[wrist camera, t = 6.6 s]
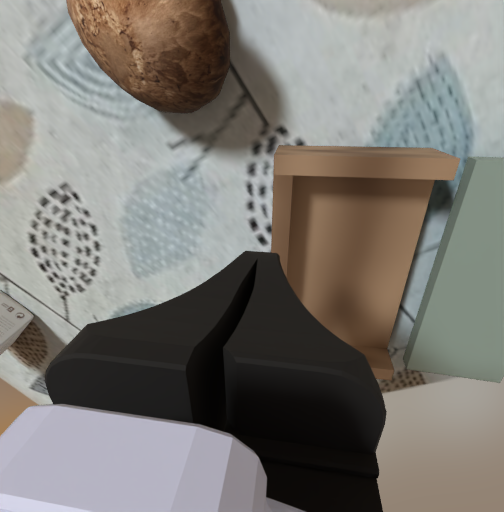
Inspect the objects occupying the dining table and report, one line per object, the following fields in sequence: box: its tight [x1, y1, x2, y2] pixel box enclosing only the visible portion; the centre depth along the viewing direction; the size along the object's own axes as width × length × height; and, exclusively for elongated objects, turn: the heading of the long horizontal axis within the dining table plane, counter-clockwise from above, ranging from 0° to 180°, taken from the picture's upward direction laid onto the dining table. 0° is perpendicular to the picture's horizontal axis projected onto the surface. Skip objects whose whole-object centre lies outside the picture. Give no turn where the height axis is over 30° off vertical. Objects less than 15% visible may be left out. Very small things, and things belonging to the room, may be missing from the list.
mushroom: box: [67, 0, 230, 113], centre depth 14 cm, size 8×8×6 cm
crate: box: [271, 145, 460, 380], centre depth 20 cm, size 9×15×4 cm, turn 0°
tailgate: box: [403, 157, 504, 383], centre depth 18 cm, size 1×15×6 cm
